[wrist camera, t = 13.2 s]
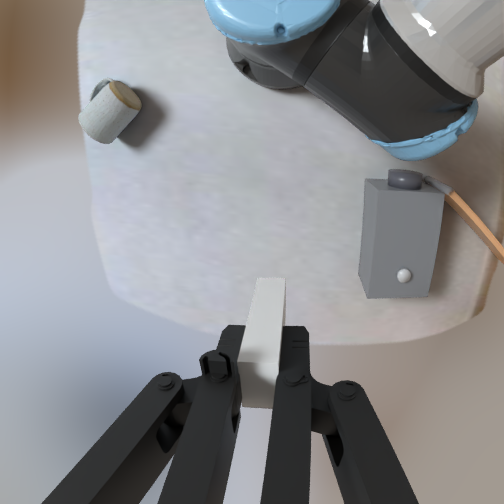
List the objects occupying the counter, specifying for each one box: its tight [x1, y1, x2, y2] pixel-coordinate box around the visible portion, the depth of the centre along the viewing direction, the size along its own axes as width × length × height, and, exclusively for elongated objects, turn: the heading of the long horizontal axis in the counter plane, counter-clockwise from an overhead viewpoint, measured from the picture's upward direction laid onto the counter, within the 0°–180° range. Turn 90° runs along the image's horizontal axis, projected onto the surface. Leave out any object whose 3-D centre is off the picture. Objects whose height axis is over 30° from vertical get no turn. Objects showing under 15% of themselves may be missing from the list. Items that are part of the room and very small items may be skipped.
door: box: [425, 176, 504, 264], centre depth 40 cm, size 24×2×8 cm, turn 58°
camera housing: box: [358, 169, 445, 299], centre depth 43 cm, size 18×10×9 cm, turn 3°
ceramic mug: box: [79, 78, 141, 144], centre depth 41 cm, size 11×8×8 cm
